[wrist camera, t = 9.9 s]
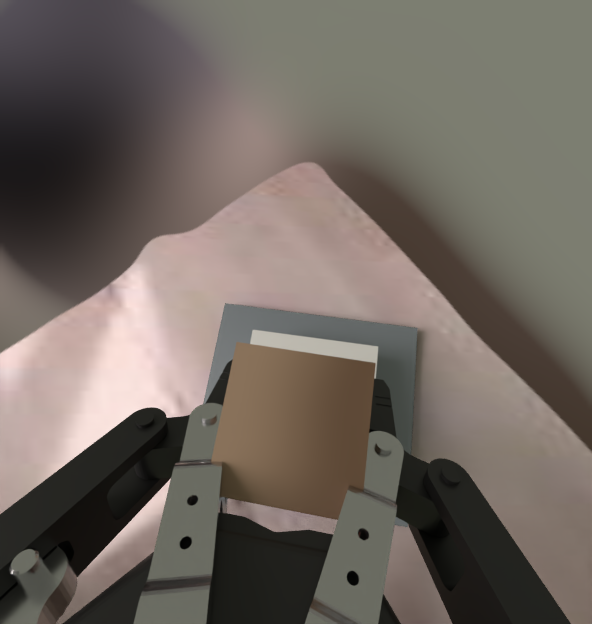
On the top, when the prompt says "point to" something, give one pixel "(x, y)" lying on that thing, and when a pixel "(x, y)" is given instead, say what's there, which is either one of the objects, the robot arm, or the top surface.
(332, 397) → the brown wooden block
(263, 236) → the top surface
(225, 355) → the socket plate
